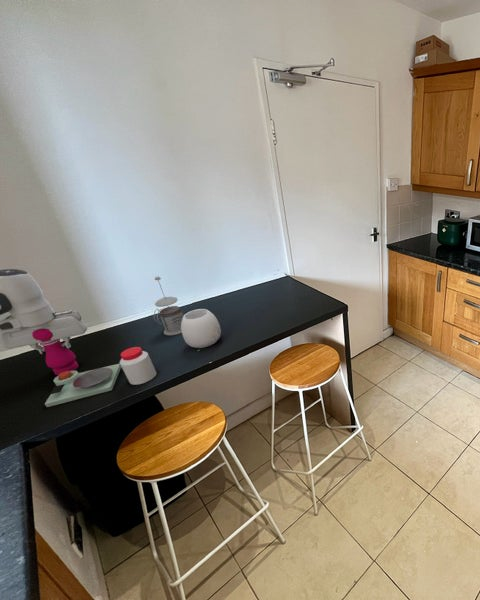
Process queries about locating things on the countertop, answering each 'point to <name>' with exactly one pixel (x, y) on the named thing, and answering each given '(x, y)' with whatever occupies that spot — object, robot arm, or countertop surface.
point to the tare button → (65, 375)
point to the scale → (74, 393)
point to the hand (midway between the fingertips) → (56, 350)
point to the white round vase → (200, 328)
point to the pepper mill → (55, 352)
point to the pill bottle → (137, 366)
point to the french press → (169, 326)
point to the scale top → (88, 379)
